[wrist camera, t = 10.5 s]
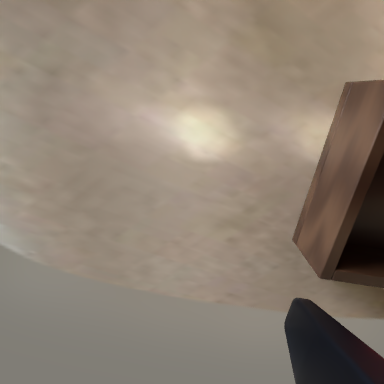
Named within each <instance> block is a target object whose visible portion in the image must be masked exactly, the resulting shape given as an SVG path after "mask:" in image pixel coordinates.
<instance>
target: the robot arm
mask: <svg viewBox="0 0 384 384" xmlns="http://www.w3.org/2000/svg"><path fill="white" fill-rule="evenodd" d="M285 333H286V338H287V343H288V348H289V353H290V358H291V363H292V368H293V373H294V378H295V382H296V384H384V358H383V357H381V356H380V355H379V354H378V353H376V352H375V351H374V350H373V349H371V348H370V347H369V346H367V345H366V344H365V343H364V342H362V341H361V340H360V339H359V338H358V337H356V336H355V335H354V334H352V333H351V332H350V331H349V330H347V329H346V328H345V327H344V326H342V325H341V324H340V323H339V322H337V321H336V320H335V319H334V318H332V317H331V316H330V315H329V314H327V313H326V312H325V311H324V310H322V309H321V308H320V307H319V306H317V305H316V304H315V303H314V302H312V301H311V300H309V299H302V298H295V299H294V300H293V301H292V304H291V306H290V309H289V311H288V314H287V317H286V320H285Z"/></svg>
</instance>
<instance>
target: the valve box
mask: <svg viewBox="0 0 384 384" xmlns="http://www.w3.org/2000/svg"><path fill="white" fill-rule="evenodd" d="M292 240H293V242H294V243H295V244H296V246H297V247H298V248H299V250H300V251H301V253H302V254H303V256H304V257H305V258H306V260H307V261H308V263H309V264H310V266H311V267H312V269H313V270H314V271H315V273H316V274H317V276H318V277H319V278H320V279H327V280H334V281H340V282H347V283H354V284H360V285H367V286H374V287H381V288H384V80H373V81H357V82H346V84H345V87H344V90H343V93H342V95H341V98H340V101H339V104H338V107H337V110H336V113H335V116H334V119H333V122H332V125H331V128H330V131H329V134H328V136H327V139H326V142H325V145H324V148H323V151H322V154H321V157H320V160H319V163H318V166H317V169H316V172H315V175H314V177H313V180H312V183H311V186H310V189H309V192H308V195H307V198H306V201H305V204H304V207H303V210H302V213H301V215H300V218H299V221H298V224H297V227H296V230H295V233H294V236H293V239H292Z"/></svg>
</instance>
